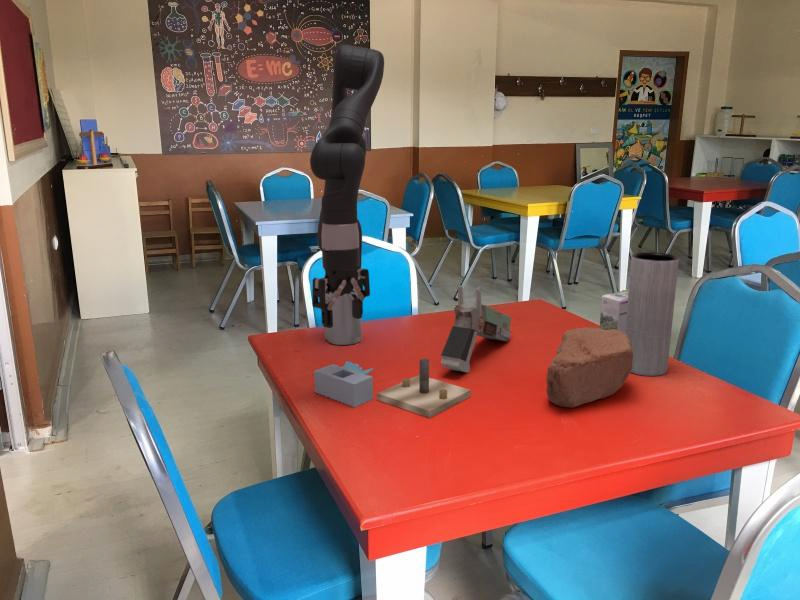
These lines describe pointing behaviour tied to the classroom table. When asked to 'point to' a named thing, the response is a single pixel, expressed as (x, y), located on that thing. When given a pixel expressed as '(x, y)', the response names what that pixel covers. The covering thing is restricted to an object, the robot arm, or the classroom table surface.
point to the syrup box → (613, 312)
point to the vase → (651, 311)
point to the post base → (424, 393)
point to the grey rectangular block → (344, 385)
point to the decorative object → (356, 368)
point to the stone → (588, 366)
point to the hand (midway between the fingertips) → (342, 322)
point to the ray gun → (472, 331)
